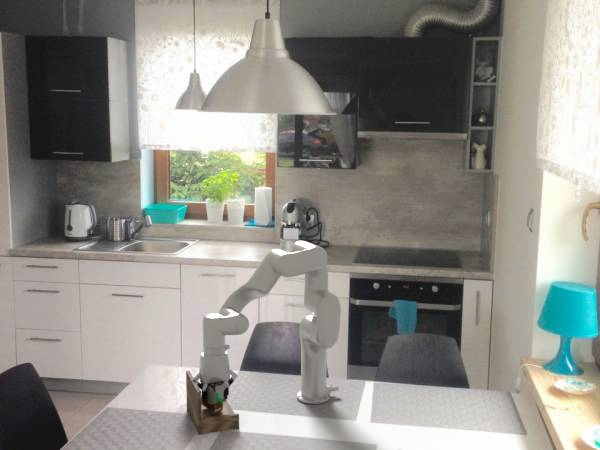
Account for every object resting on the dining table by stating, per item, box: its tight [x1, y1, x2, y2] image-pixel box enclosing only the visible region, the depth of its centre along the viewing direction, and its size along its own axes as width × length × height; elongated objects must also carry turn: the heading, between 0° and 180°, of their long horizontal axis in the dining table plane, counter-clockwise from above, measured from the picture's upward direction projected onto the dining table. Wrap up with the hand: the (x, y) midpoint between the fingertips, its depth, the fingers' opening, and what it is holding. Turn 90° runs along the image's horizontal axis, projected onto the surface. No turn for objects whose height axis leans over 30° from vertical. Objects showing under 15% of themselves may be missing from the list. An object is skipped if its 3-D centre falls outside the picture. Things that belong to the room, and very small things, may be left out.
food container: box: [199, 379, 226, 414], centre depth 248 cm, size 12×6×10 cm, turn 34°
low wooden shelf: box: [185, 370, 240, 436], centre depth 247 cm, size 14×20×15 cm
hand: (215, 398), depth 248 cm, fingers closed on food container, 6 cm apart
